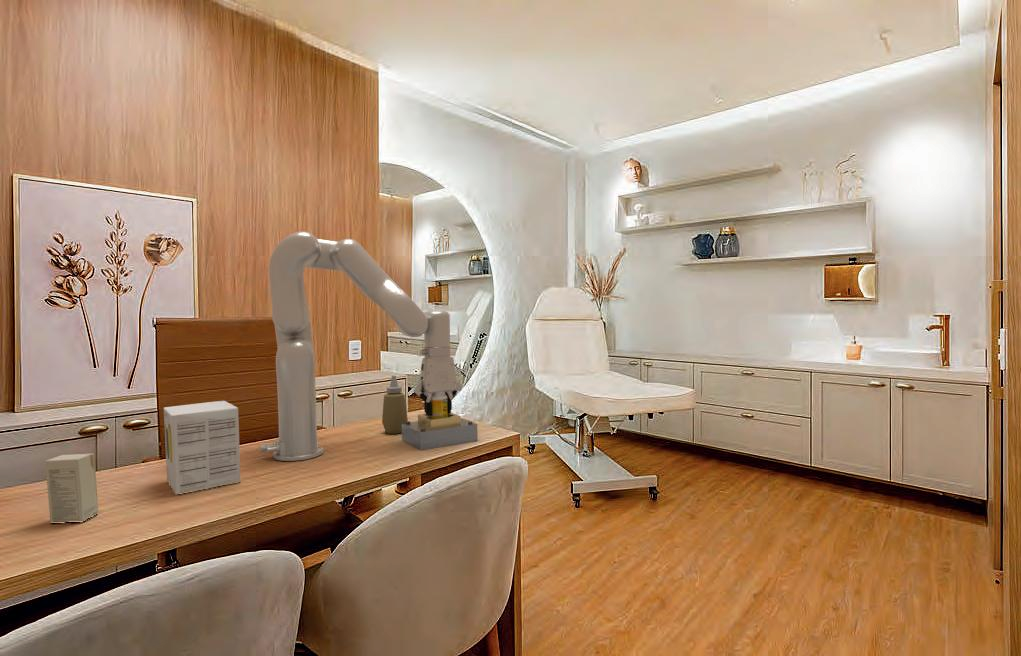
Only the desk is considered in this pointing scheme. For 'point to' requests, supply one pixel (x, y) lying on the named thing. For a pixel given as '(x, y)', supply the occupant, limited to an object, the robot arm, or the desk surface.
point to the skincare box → (72, 487)
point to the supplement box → (201, 445)
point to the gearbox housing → (438, 431)
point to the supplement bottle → (439, 405)
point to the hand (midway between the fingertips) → (438, 413)
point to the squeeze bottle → (394, 408)
